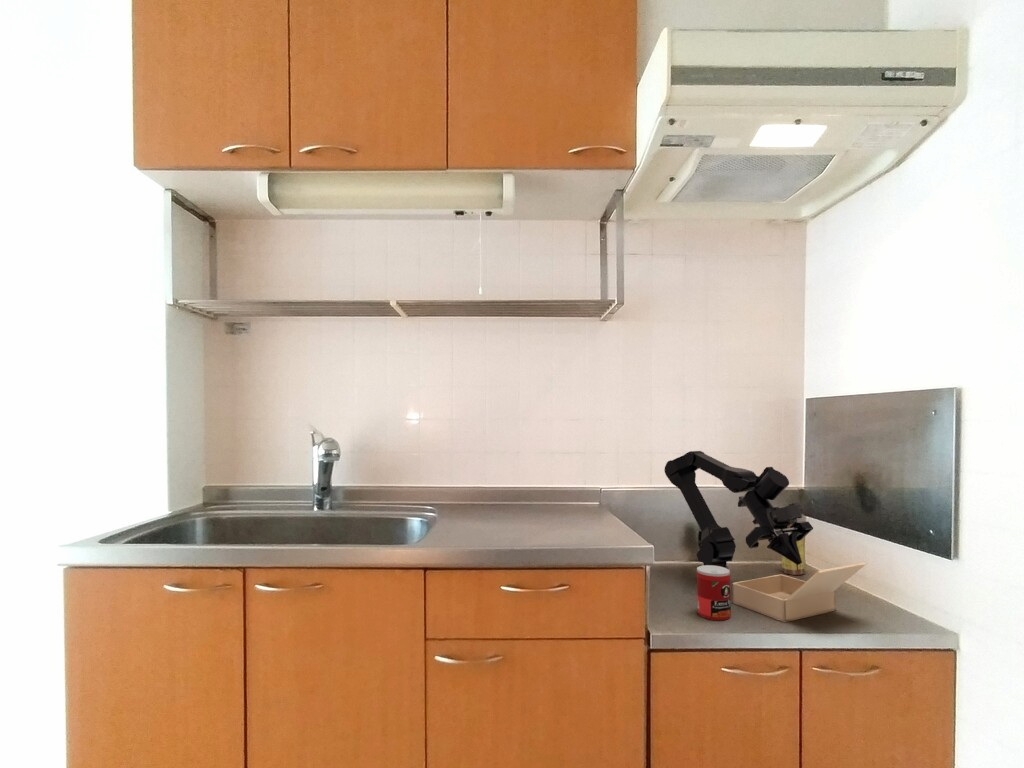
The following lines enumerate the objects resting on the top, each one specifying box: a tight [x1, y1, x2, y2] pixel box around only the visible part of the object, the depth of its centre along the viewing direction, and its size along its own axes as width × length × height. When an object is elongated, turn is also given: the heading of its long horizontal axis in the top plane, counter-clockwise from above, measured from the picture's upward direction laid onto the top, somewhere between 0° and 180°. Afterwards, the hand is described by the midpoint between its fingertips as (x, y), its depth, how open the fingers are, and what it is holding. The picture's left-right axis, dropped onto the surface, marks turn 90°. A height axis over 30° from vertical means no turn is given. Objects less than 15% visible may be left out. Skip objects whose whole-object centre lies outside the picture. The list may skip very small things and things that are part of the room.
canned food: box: [696, 565, 732, 621], centre depth 145 cm, size 8×8×11 cm
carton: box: [731, 573, 837, 623], centre depth 151 cm, size 16×18×5 cm
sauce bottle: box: [780, 505, 806, 576], centre depth 182 cm, size 7×6×20 cm
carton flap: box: [787, 561, 867, 601], centre depth 140 cm, size 12×16×1 cm
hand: (799, 563), depth 146 cm, fingers closed
